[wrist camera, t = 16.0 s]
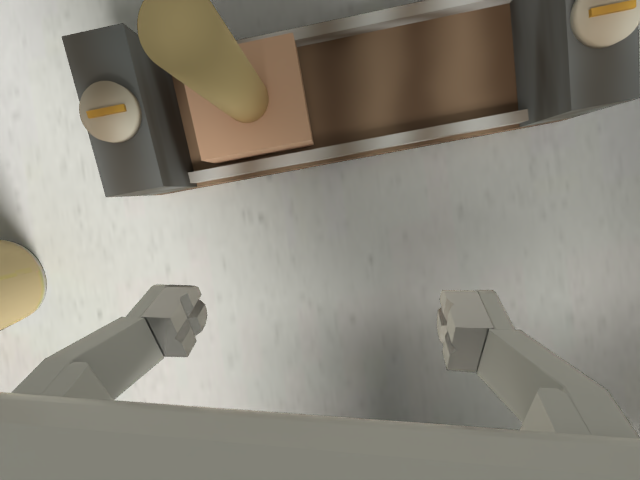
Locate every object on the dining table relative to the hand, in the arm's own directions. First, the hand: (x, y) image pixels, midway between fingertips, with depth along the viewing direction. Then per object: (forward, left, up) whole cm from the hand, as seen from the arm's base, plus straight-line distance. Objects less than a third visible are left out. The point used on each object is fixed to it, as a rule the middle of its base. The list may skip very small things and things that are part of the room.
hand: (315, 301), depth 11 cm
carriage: (+9, -7, -16) cm, 20 cm away
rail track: (+3, -11, -18) cm, 21 cm away
